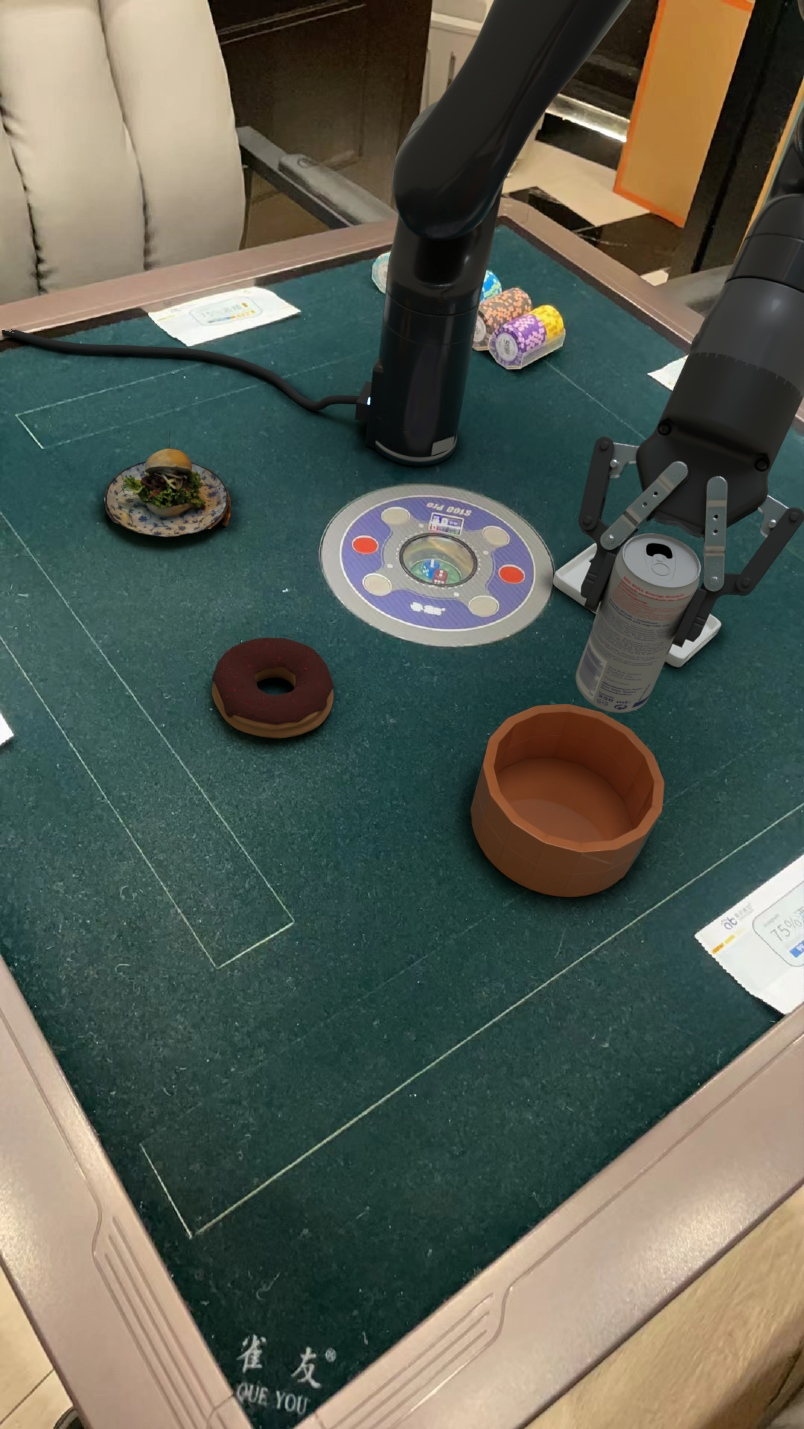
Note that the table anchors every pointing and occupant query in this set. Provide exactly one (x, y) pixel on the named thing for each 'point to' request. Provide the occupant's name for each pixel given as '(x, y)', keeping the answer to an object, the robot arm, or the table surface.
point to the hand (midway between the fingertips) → (632, 625)
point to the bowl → (565, 799)
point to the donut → (267, 711)
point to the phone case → (570, 584)
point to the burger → (167, 496)
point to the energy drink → (637, 621)
